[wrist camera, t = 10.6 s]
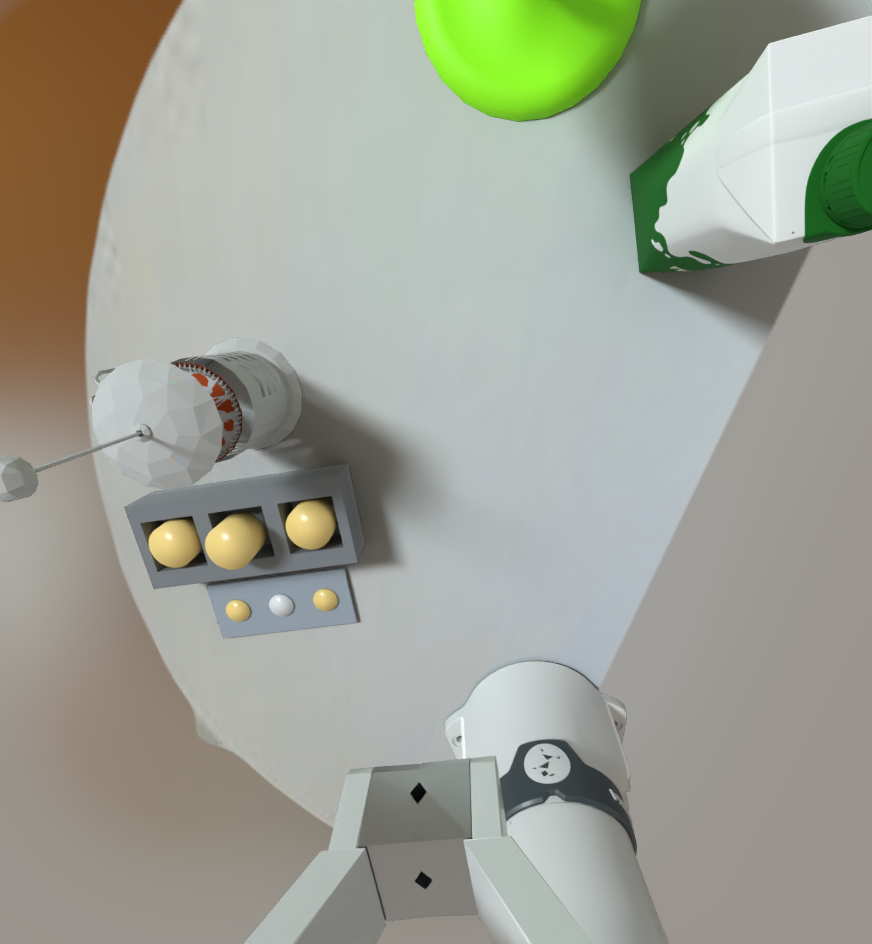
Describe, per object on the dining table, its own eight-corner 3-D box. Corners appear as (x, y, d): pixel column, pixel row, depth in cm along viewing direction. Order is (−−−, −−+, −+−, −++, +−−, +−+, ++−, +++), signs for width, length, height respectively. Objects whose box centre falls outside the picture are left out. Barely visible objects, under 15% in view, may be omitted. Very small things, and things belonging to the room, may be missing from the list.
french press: (287, 464, 45) (98, 624, 21) (163, 422, 44) (-178, 539, 20) (315, 360, 42) (132, 409, 18) (183, 314, 42) (-187, 303, 18)
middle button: (271, 550, 44) (258, 566, 41) (228, 556, 44) (212, 572, 41) (259, 508, 43) (245, 522, 40) (216, 515, 43) (198, 528, 40)
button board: (381, 617, 49) (375, 642, 46) (201, 638, 51) (181, 664, 47) (347, 463, 45) (337, 476, 41) (151, 492, 46) (124, 507, 43)
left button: (215, 549, 46) (199, 564, 43) (175, 555, 46) (157, 570, 44) (203, 510, 45) (186, 522, 42) (162, 515, 45) (142, 528, 43)
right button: (344, 532, 45) (336, 546, 42) (302, 537, 46) (292, 552, 43) (335, 491, 44) (326, 503, 41) (291, 497, 44) (280, 509, 42)
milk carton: (628, 287, 40) (790, 254, 20) (615, 162, 37) (785, -8, 18) (742, 261, 39) (1020, 201, 20) (736, 131, 36) (1049, -82, 17)
